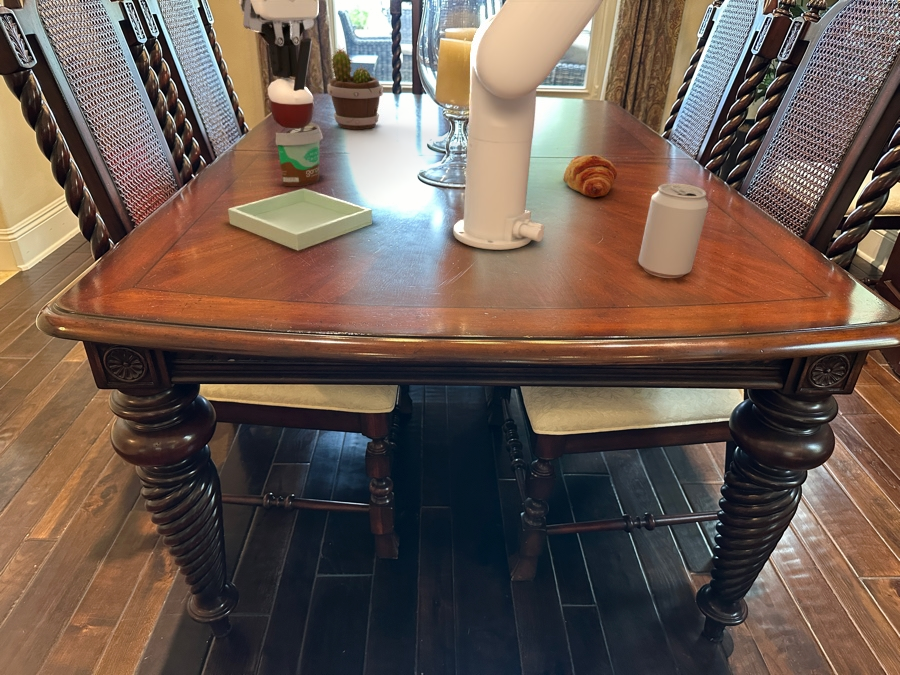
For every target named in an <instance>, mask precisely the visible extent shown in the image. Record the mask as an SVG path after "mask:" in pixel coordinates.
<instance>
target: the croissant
mask: <svg viewBox="0 0 900 675" xmlns="http://www.w3.org/2000/svg"><path fill="white" fill-rule="evenodd" d="M617 176H618V171H617V169H616V167H615V166H614V164H613V163H612V162H611V161H610V160H608V159H606V158H604V157H602V156H600V155H594V154H587V155H577V156H575V157H574V158H572V159H571V160H570V162H569V164H568V165H567V167H566V168H565V170H564V173H563V178H562V179H563V180H562V181H563V182H564V183H566V184H567V185H568V187H569V188H570V189H571V190H574V191H576V192H579V193H581V194H582V195H584V196H586V197H590V198H596V197H597V198H599V197H604V196H606V195H607V194H608V193H609V192H610V191H611V189H612V188H613V185H614V183H615V180H616V178H617Z"/></svg>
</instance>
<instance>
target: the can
mask: <svg viewBox="0 0 900 675" xmlns="http://www.w3.org/2000/svg"><path fill="white" fill-rule="evenodd" d="M706 196H707V192H706V190H704V189H703V188H701V187H698V186H695V185H691V184H686V183H677V182H669V183H662V184H660V185H658V191H656V192H655V193H654V194H652V195H651V197H650V203H649V206H648V207H649V208H648V213H647V217H646V221H645V226H644V231H643V237H642V241H641V246H640V251H639V256H638V264H639V265H640V266H641V267H642V268H643V271H645V272H646V273H647V274H650V275H652V276H655V277H659V278H664V279H678V278H683V277H684V276H685V275H687V274H689V273H691V272H692V270H693V267H694V262H695V259H696V255H697V251H698V246H699V243H700V239H701V235H702V231H703V228H704V224H705V221H706V216H707V212H708V209H709V201H707V198H706Z"/></svg>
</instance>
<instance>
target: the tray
mask: <svg viewBox="0 0 900 675" xmlns="http://www.w3.org/2000/svg"><path fill="white" fill-rule="evenodd" d="M227 213H228V219H229V224H230V225H232V226H235V227H237V228H240V229H242V230H244V231H247V232H249V233H253V234H255V235H257V236H259V237H261V238H262V237H263V238H264V239H267V240H270V241H272V242H275V243H277V244H280V245H282V246H285V247H287V248H290V249H292V250H295V251H297V252H298V251H301V250H304V249H307V248H309V247H313V246H315V245H318V244H321V243H323V242H326V241H330V240H332V239H335V238H337V237H341V236H343V235H346V234H349V233H351V232H354V231H358V230H359V229H363V228H365V227H368V226H370V225H373V210H372V208H368V207H365V206H362V205H359V204H355V203H352V202H349V201H345V200H343V199H340V198H336V197H333V196H330V195H327V194H323V193H321V192H317V191H314V190H311V189H307V188H305V187H304V188H300V189H296V190H292V191H288V192H286V193H282V194H278V195H274V196H270V197H267V198H266V197H265V198H263V199H260V200H256V201H251V202H248V203H245V204H241V205H236V206H234V207H230V208H227Z"/></svg>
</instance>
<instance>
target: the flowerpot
mask: <svg viewBox="0 0 900 675" xmlns="http://www.w3.org/2000/svg"><path fill="white" fill-rule="evenodd" d="M328 60H330V61H329V63H330V64H329V65H328V66H330V70H331V71H332V76H333V77H332V78H331V79H330V82H329V83H328V84H327V86H326V87H327V88H326V90H327V94H328V95H329V96H330V97H331V102H332V105H333V108H334V111H335V112H334V113H333V117H334V121H335V123H337V126H338V127H339V128H341V129H347V130H354V131H355V130H365V129H372V128H375V127H376V124H377V123H378V121H379V117H380V114H379V113H378V111H379V105H380V97H382V96H383V94H384V85H383V84H381V83H380V81H379V80H378V79H377V78H376V77H374V76H371V74H370V71H369V70H370V68H369V69H368V68H366V66H363V65H362V64H359V67H357V68H356V69H355V70H353V66H352V64H353V62H354V60H353V59H352V55H350V53H347V51H345V47H343V48H341V46H340V45H338V48H337V47H335V51H333V53H332V55H331V57H330V58H329V59H328Z"/></svg>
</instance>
